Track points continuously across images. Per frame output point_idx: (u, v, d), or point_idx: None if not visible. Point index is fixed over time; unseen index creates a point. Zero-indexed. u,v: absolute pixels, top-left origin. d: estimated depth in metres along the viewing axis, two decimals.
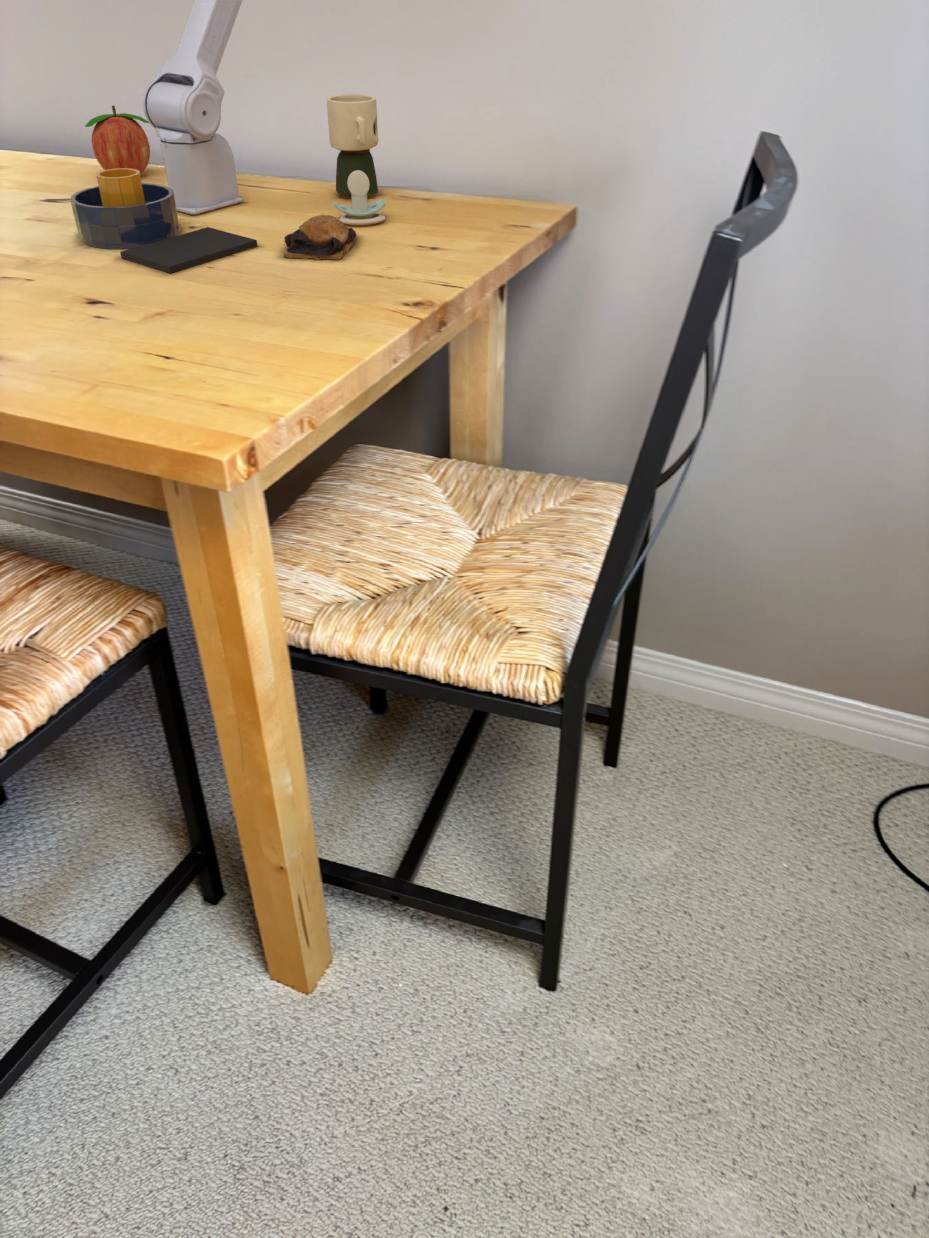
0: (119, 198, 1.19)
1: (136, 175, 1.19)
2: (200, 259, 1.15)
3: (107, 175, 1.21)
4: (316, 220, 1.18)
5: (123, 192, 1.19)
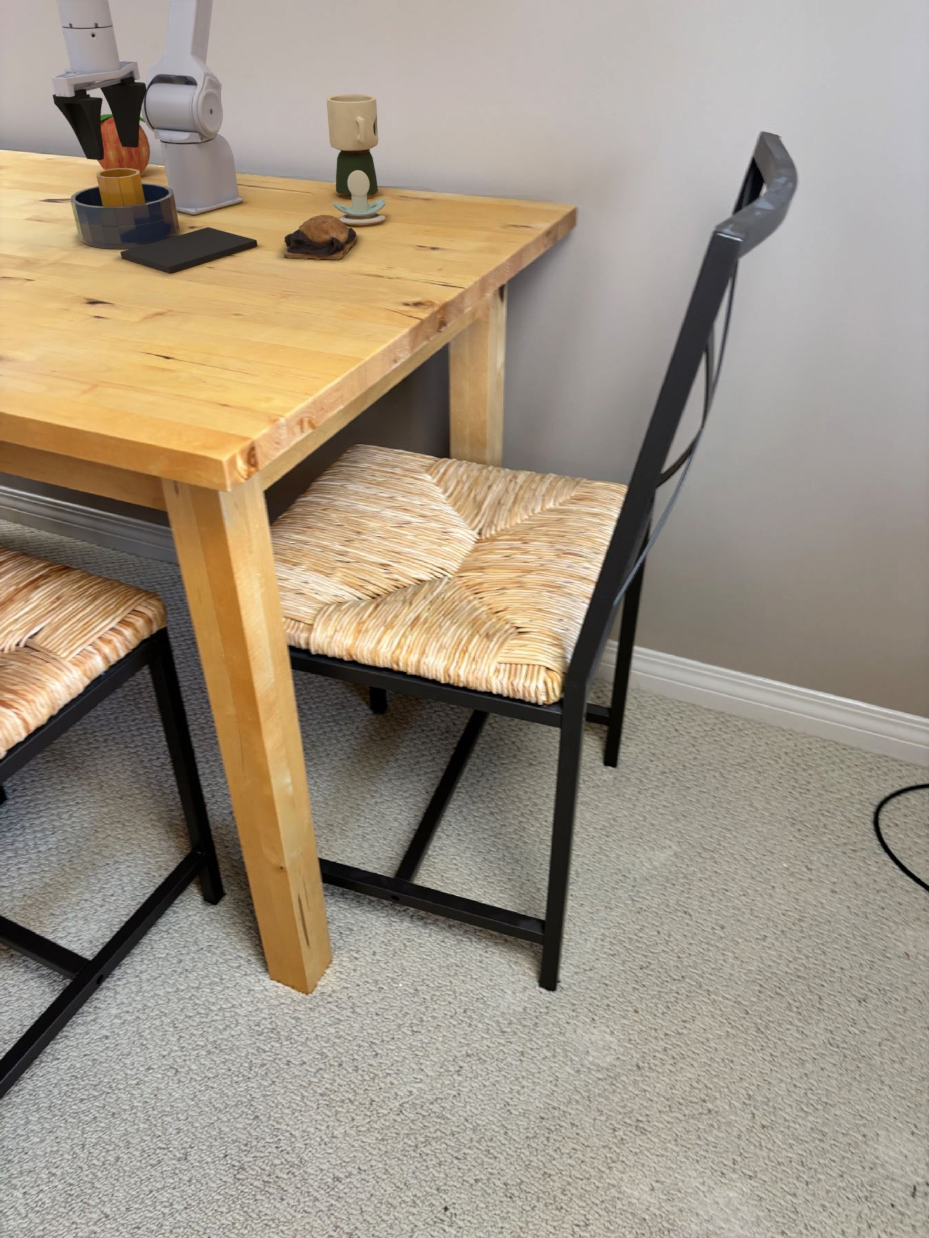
0: (119, 198, 1.19)
1: (136, 175, 1.19)
2: (200, 259, 1.15)
3: (107, 175, 1.21)
4: (316, 220, 1.18)
5: (123, 192, 1.19)
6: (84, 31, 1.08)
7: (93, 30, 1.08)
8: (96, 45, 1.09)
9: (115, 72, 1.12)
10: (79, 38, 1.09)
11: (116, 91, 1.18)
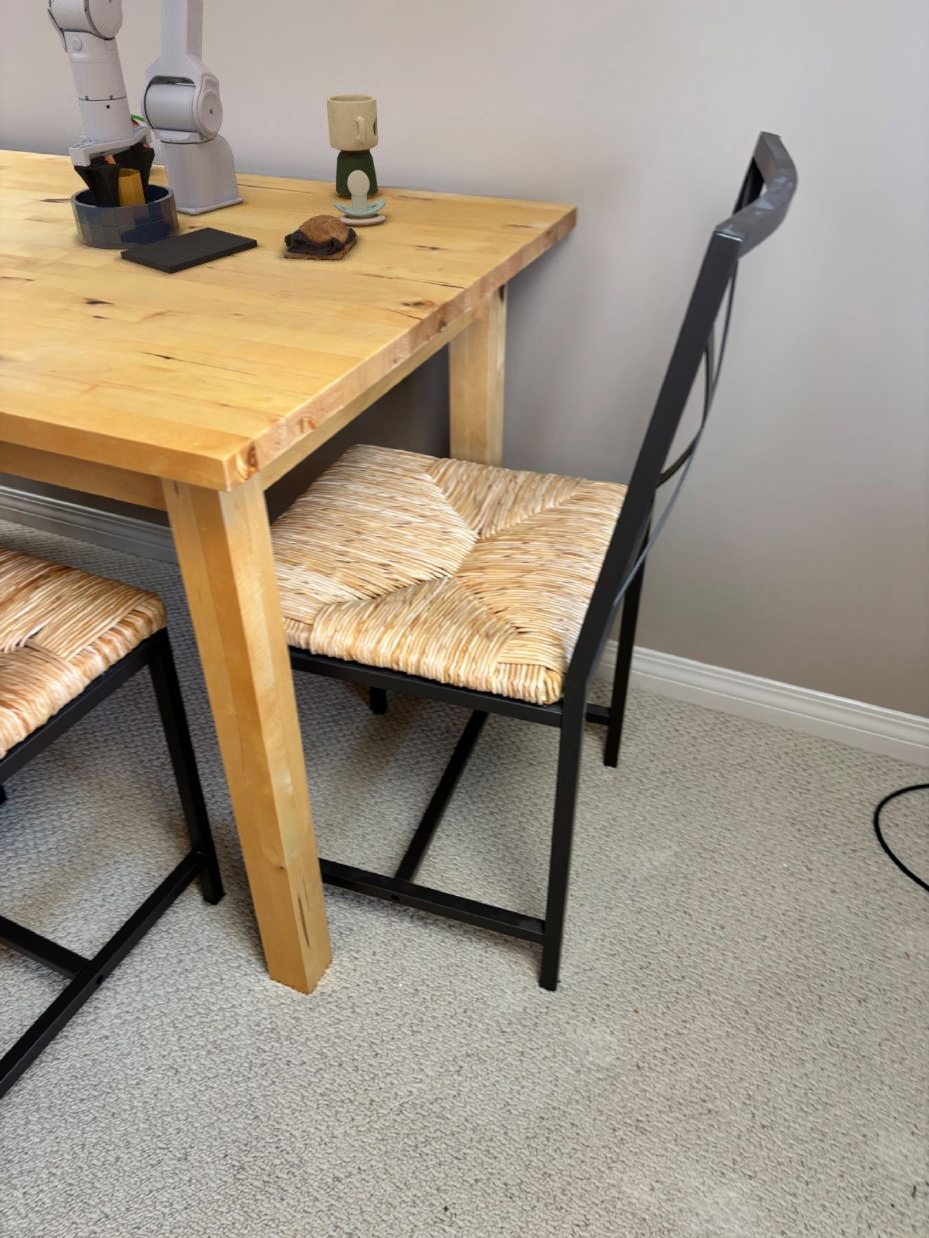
0: (119, 198, 1.19)
1: (136, 175, 1.19)
2: (200, 259, 1.15)
3: None
4: (316, 219, 1.18)
5: (123, 192, 1.19)
6: (99, 103, 1.13)
7: (108, 102, 1.13)
8: (111, 116, 1.14)
9: (129, 140, 1.16)
10: (94, 109, 1.13)
11: (126, 156, 1.21)
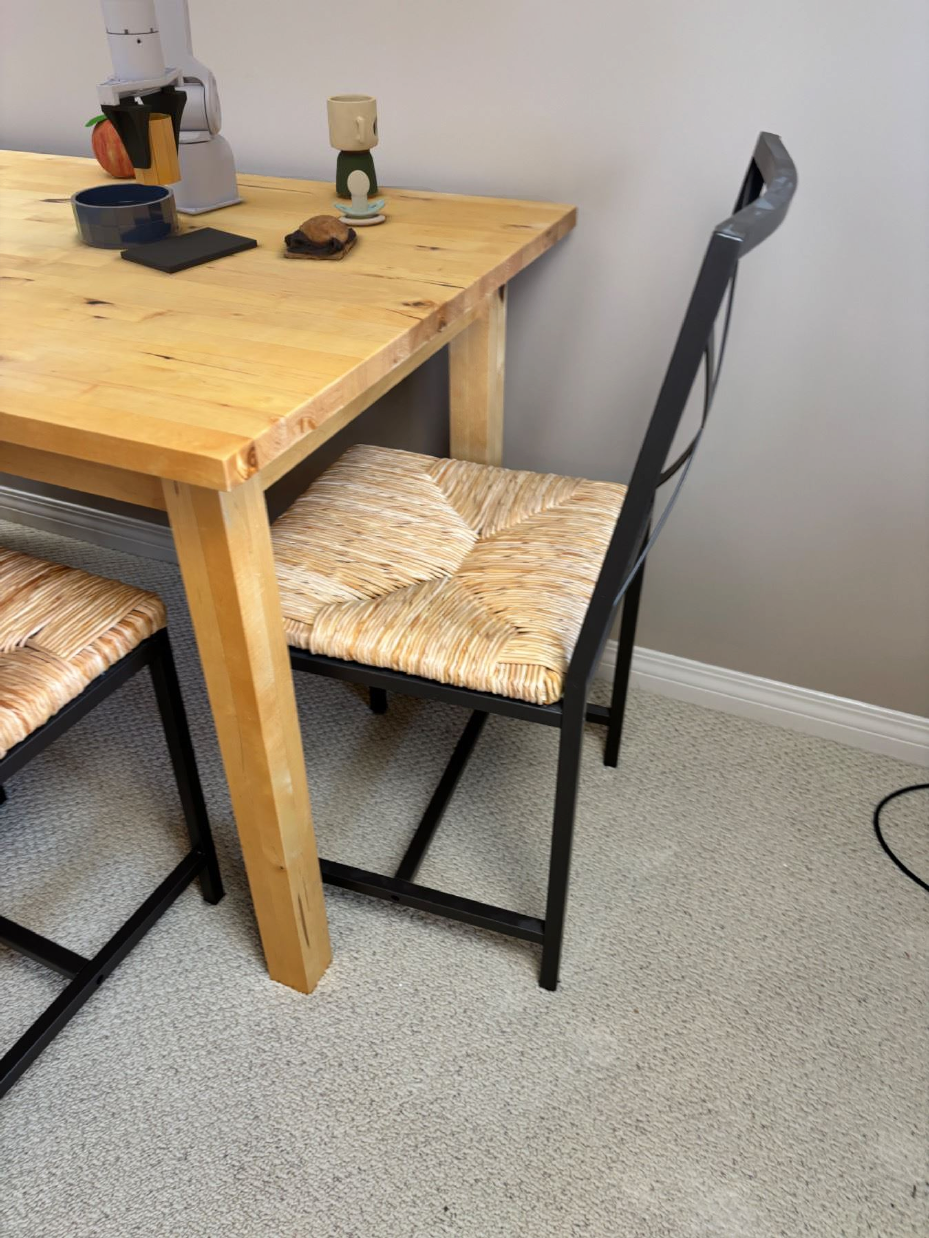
0: None
1: (167, 119, 1.11)
2: (200, 259, 1.15)
3: None
4: (316, 219, 1.18)
5: (153, 137, 1.10)
6: (130, 37, 1.04)
7: (139, 36, 1.04)
8: (142, 52, 1.05)
9: (161, 79, 1.08)
10: (124, 44, 1.04)
11: (156, 100, 1.13)
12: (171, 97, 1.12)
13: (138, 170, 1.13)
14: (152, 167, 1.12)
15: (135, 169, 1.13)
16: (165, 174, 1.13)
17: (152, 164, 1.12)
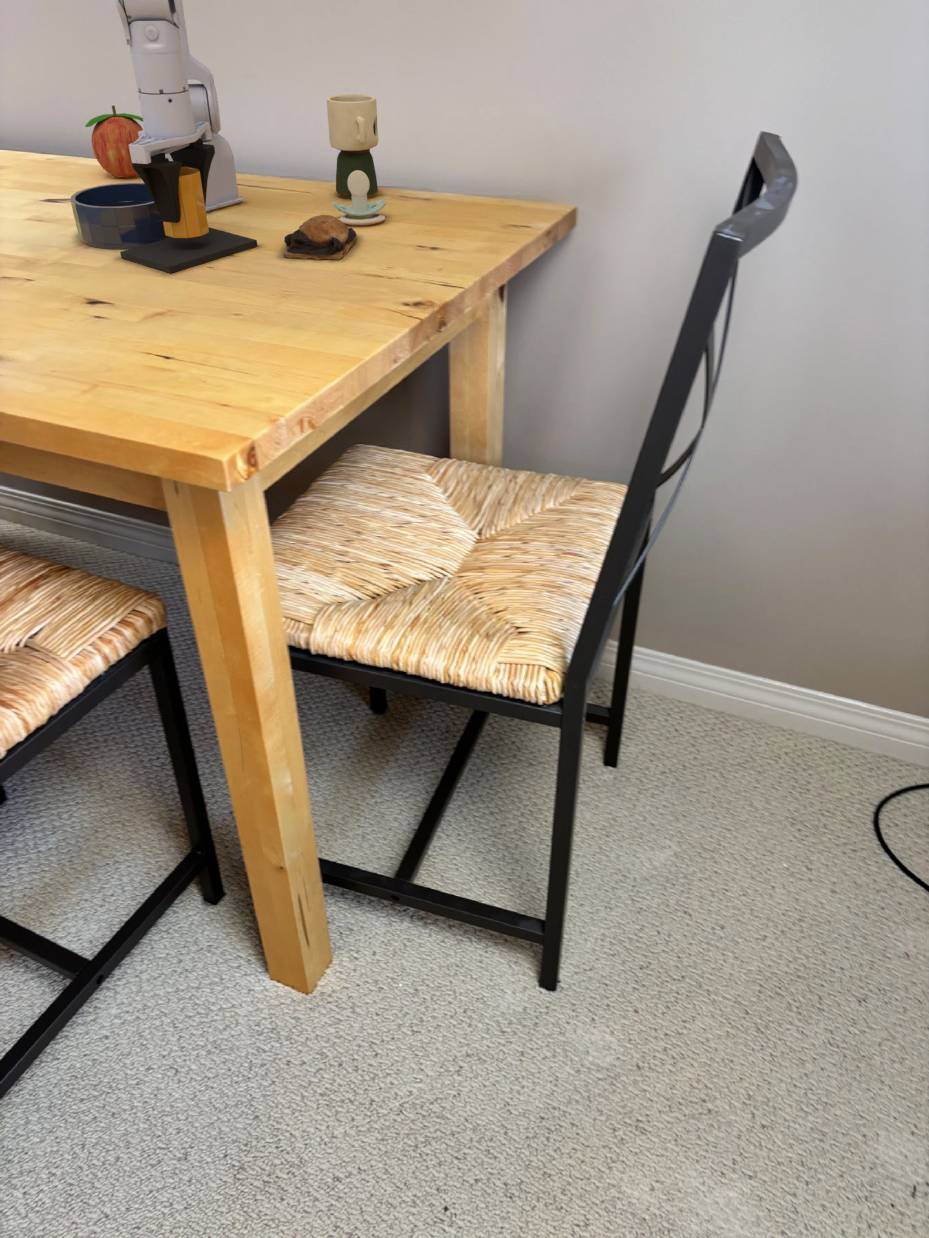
0: None
1: (196, 174, 1.12)
2: (200, 259, 1.15)
3: None
4: (316, 220, 1.18)
5: (183, 192, 1.12)
6: (161, 97, 1.06)
7: (170, 95, 1.06)
8: (173, 111, 1.07)
9: (190, 136, 1.09)
10: (156, 104, 1.06)
11: (184, 154, 1.14)
12: (199, 152, 1.14)
13: (167, 223, 1.15)
14: (181, 220, 1.14)
15: (164, 222, 1.15)
16: (194, 227, 1.15)
17: (181, 218, 1.14)
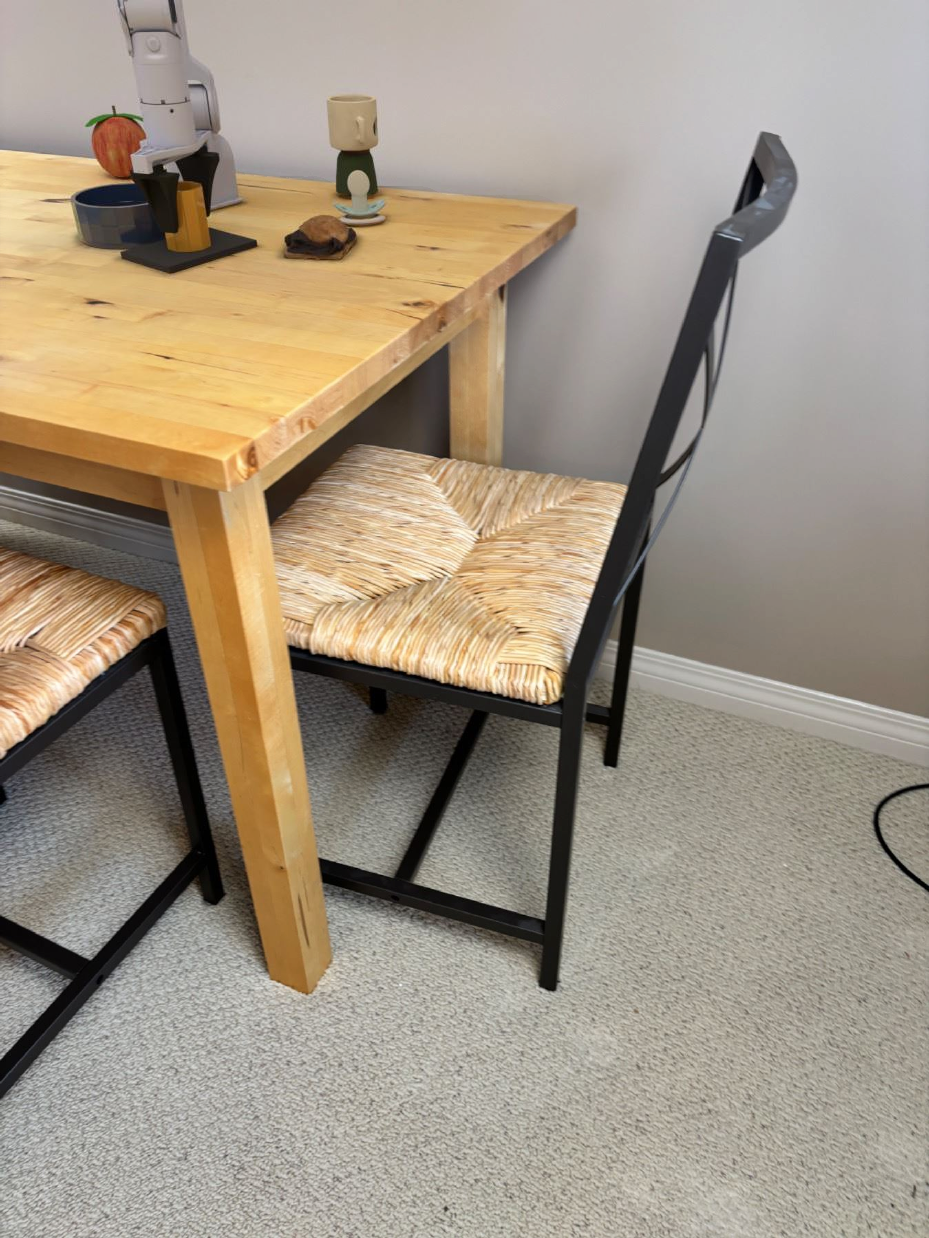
0: (181, 213, 1.13)
1: (198, 188, 1.13)
2: (200, 259, 1.15)
3: None
4: (316, 220, 1.18)
5: (185, 206, 1.13)
6: (163, 107, 1.06)
7: (172, 106, 1.06)
8: (174, 121, 1.07)
9: (192, 146, 1.10)
10: (158, 114, 1.07)
11: (189, 161, 1.16)
12: (204, 159, 1.15)
13: (170, 237, 1.16)
14: (184, 235, 1.15)
15: (167, 236, 1.16)
16: (196, 241, 1.16)
17: (184, 232, 1.15)
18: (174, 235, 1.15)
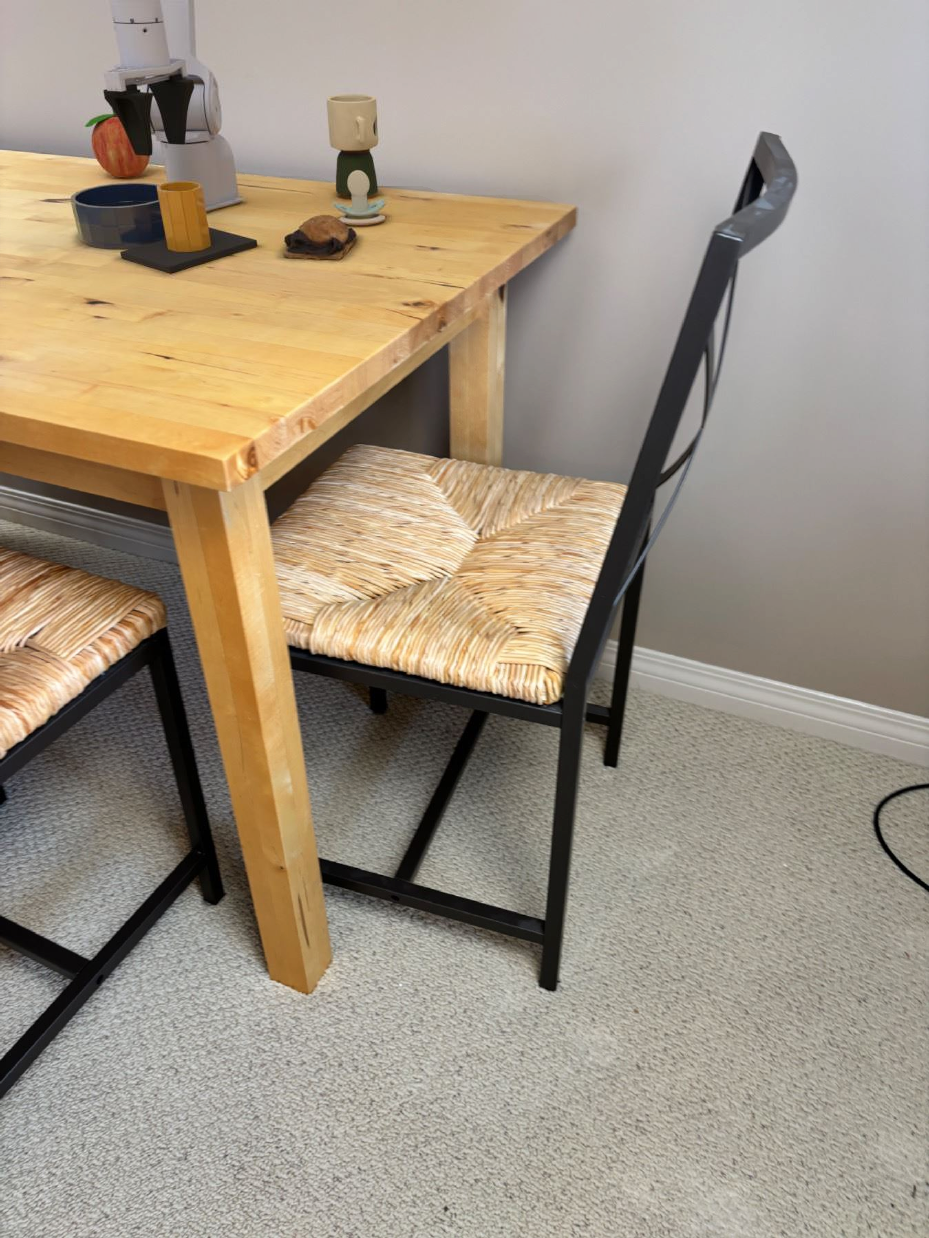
0: (181, 213, 1.13)
1: (198, 188, 1.13)
2: (200, 259, 1.15)
3: (167, 188, 1.15)
4: (316, 219, 1.18)
5: (185, 206, 1.13)
6: (136, 26, 1.08)
7: (145, 25, 1.08)
8: (147, 40, 1.09)
9: (165, 68, 1.12)
10: (131, 33, 1.08)
11: (164, 88, 1.17)
12: (179, 85, 1.17)
13: (170, 237, 1.16)
14: (184, 235, 1.15)
15: (167, 236, 1.16)
16: (196, 241, 1.16)
17: (184, 232, 1.15)
18: (174, 235, 1.15)
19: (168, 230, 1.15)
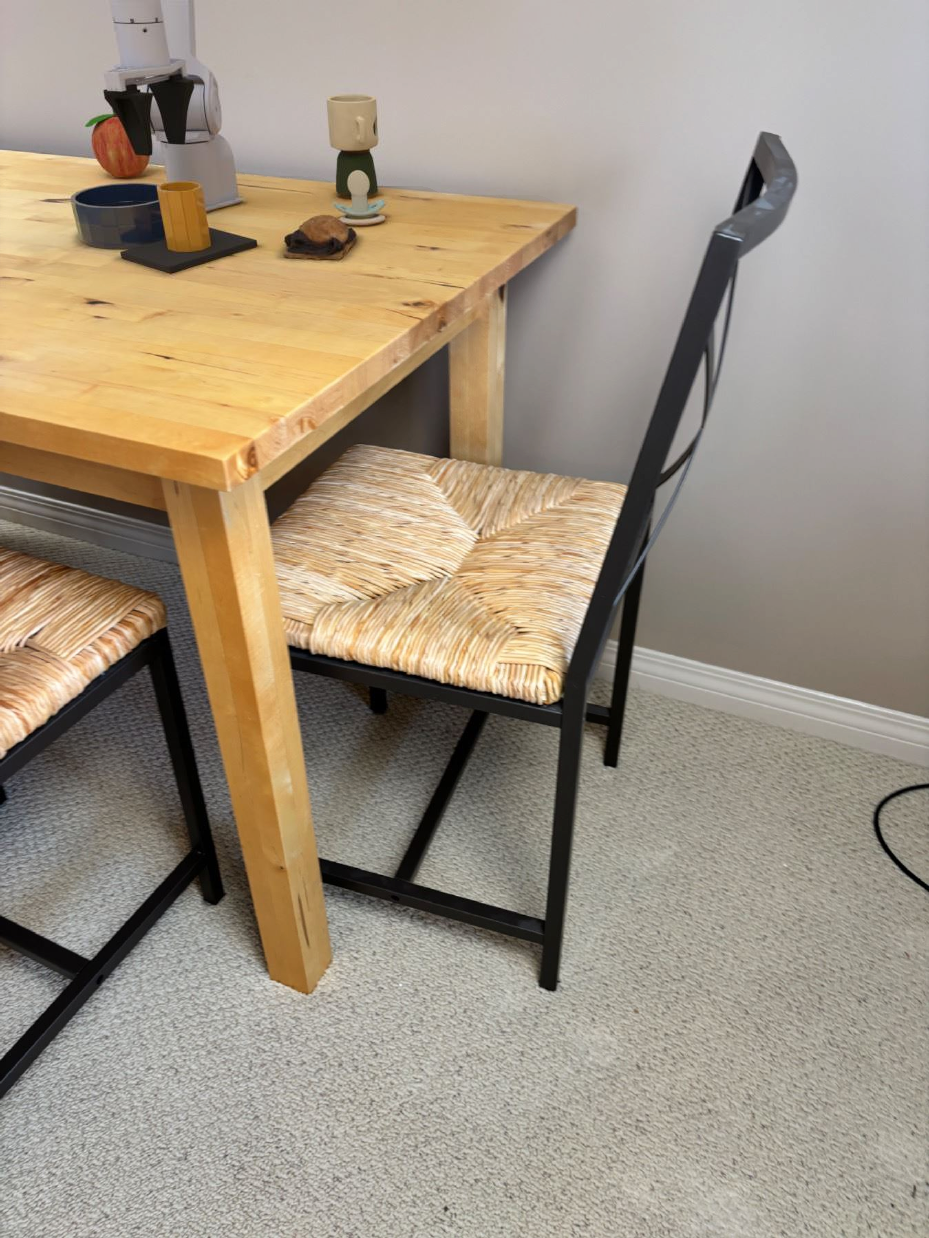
0: (181, 213, 1.13)
1: (198, 188, 1.13)
2: (200, 259, 1.15)
3: (167, 188, 1.15)
4: (316, 219, 1.18)
5: (185, 206, 1.13)
6: (136, 26, 1.08)
7: (145, 25, 1.08)
8: (147, 40, 1.09)
9: (165, 68, 1.12)
10: (131, 33, 1.08)
11: (164, 88, 1.17)
12: (179, 85, 1.17)
13: (170, 237, 1.16)
14: (184, 235, 1.15)
15: (167, 236, 1.16)
16: (196, 241, 1.16)
17: (184, 232, 1.15)
18: (174, 235, 1.15)
19: (168, 230, 1.15)
